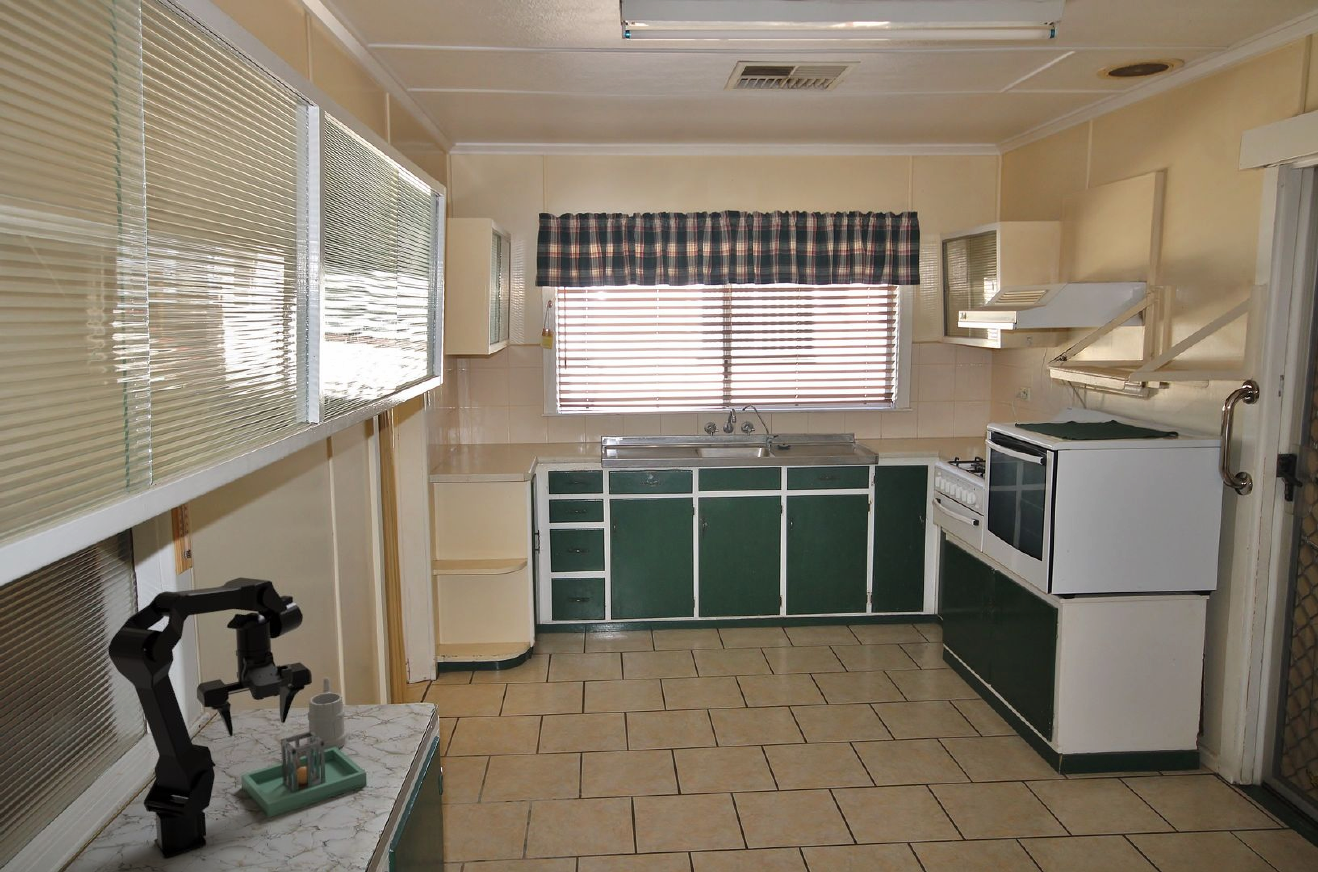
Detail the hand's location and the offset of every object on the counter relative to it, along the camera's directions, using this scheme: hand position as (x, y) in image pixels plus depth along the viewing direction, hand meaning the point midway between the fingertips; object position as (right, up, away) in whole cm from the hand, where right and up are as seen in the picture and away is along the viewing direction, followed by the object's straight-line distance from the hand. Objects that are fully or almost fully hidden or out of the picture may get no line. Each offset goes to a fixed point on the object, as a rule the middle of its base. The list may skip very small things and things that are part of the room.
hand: (257, 728), depth 176 cm
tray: (+8, -12, +3) cm, 14 cm away
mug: (+5, -9, +22) cm, 24 cm away
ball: (+8, -9, +2) cm, 12 cm away
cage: (+8, -11, +2) cm, 14 cm away
